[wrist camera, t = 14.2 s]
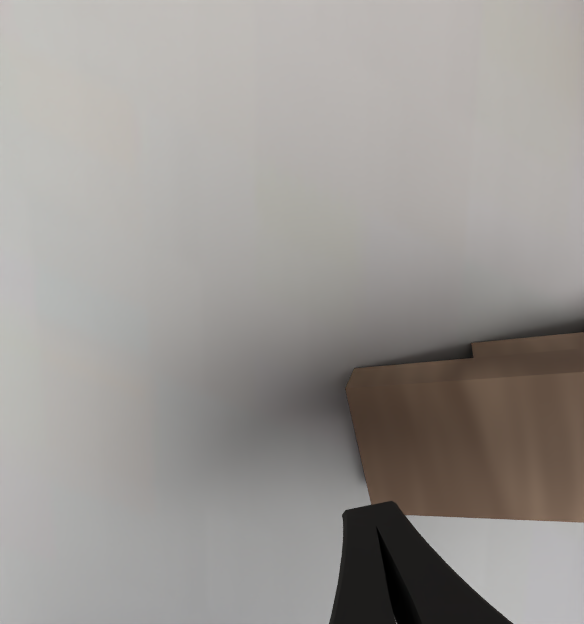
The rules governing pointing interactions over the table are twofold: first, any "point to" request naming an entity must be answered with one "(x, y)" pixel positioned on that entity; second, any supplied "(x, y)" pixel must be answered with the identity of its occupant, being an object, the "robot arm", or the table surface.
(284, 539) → the table surface
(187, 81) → the table surface
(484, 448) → the walnut tile
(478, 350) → the walnut tile
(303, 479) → the table surface
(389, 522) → the robot arm
